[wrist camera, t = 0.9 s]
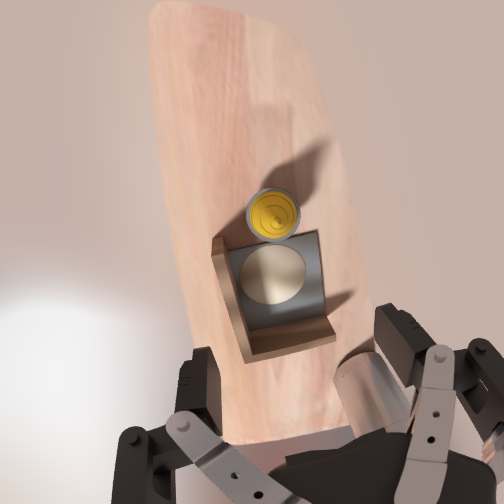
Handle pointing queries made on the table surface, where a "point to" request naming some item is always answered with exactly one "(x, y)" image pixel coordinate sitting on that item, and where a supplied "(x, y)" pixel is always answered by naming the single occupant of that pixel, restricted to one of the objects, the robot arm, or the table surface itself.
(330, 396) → the table surface
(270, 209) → the drill bit
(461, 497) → the robot arm
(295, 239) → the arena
